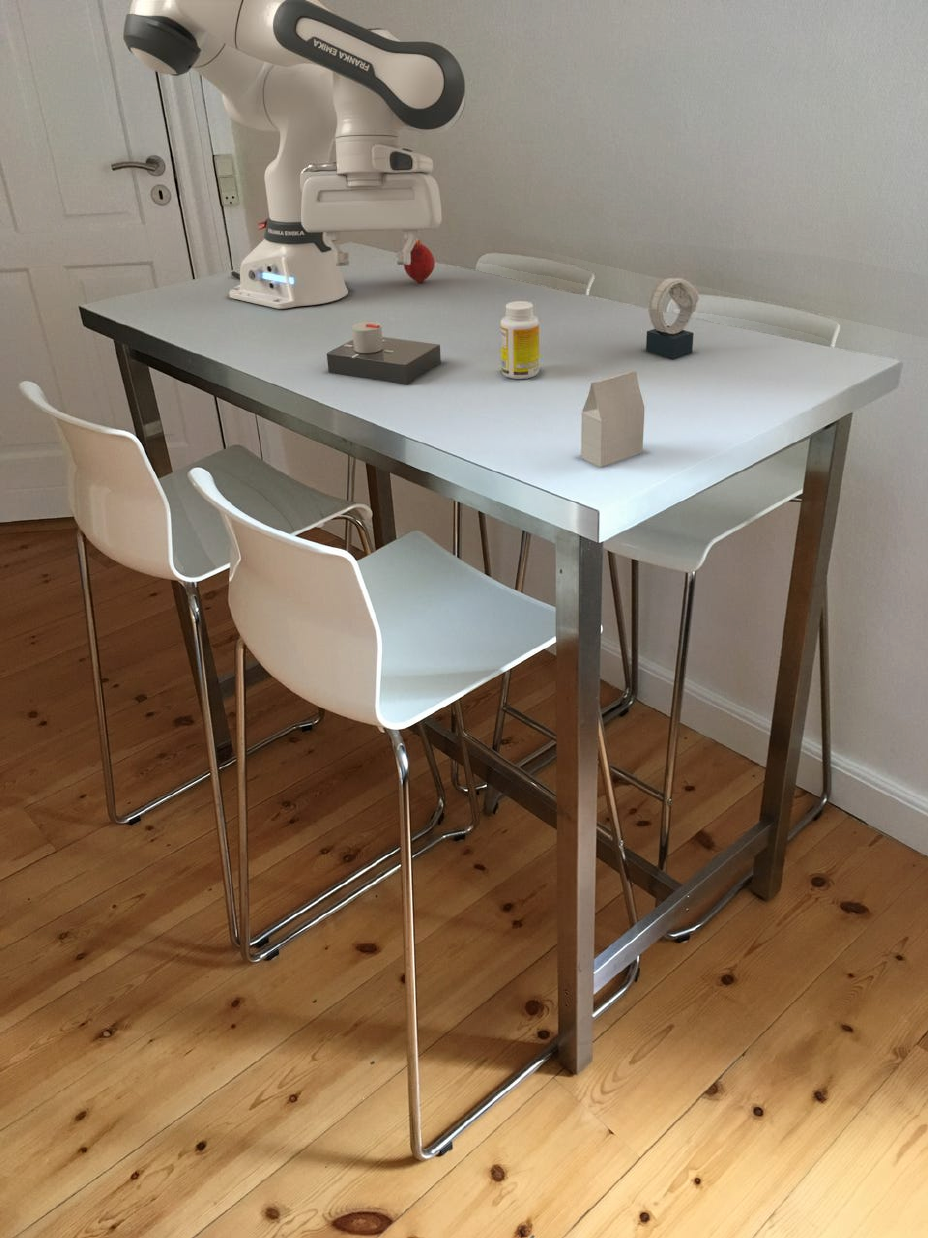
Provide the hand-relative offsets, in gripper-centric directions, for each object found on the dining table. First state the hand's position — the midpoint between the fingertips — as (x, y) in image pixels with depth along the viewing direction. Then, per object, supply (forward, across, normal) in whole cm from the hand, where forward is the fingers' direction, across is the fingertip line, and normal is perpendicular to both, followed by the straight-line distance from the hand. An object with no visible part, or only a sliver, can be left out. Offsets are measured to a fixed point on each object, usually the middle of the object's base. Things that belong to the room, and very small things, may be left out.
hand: (372, 265), depth 156 cm
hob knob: (+12, -3, +3) cm, 13 cm away
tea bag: (+22, +38, -22) cm, 49 cm away
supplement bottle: (+16, +20, +5) cm, 26 cm away
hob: (+15, 0, +5) cm, 16 cm away
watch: (+14, +41, +18) cm, 47 cm away
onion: (+5, -9, +51) cm, 52 cm away
